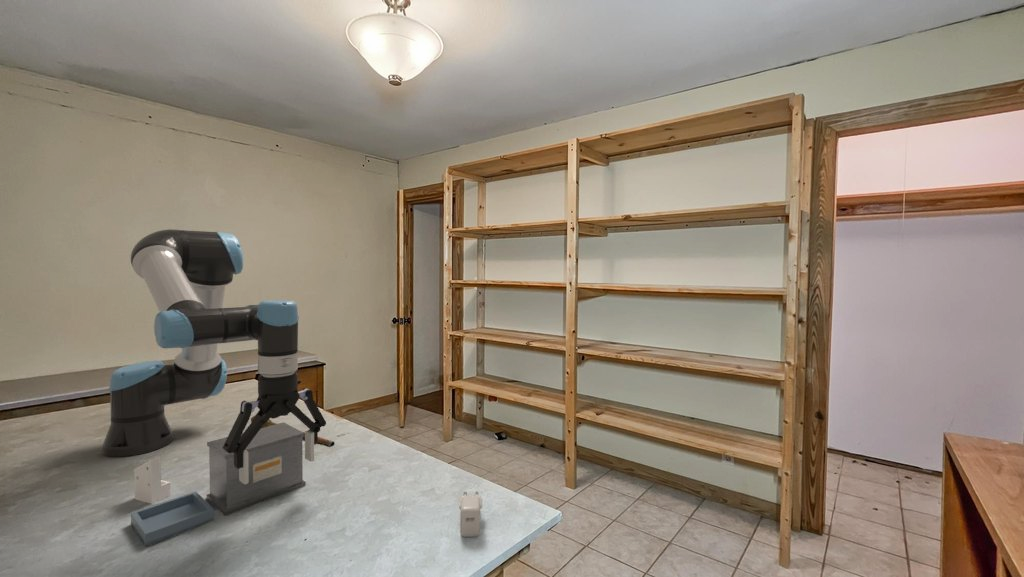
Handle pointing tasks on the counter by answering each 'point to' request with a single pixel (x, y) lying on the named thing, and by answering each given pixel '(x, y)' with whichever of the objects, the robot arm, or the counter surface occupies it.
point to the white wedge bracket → (150, 482)
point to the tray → (171, 518)
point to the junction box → (257, 469)
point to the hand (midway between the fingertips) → (278, 470)
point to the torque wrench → (320, 440)
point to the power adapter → (470, 515)
